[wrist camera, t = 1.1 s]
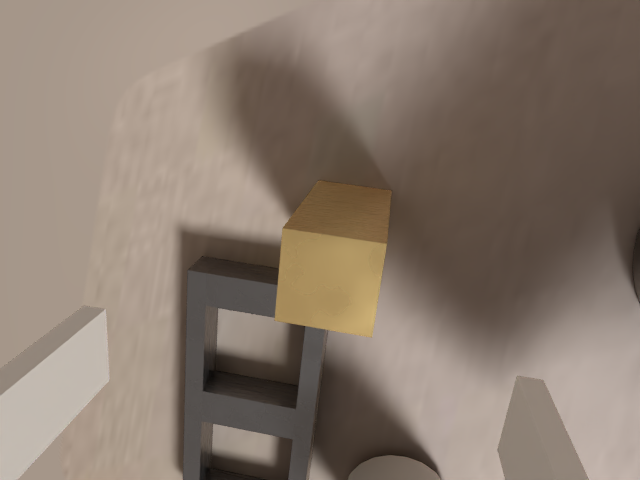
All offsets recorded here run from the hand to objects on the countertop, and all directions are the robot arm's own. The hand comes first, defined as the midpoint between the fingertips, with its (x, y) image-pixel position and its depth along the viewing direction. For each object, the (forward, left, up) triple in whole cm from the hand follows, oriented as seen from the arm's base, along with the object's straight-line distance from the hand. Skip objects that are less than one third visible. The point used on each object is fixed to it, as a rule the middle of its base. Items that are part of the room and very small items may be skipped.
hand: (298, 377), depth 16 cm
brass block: (0, 0, -17) cm, 17 cm away
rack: (+5, +14, -17) cm, 22 cm away
